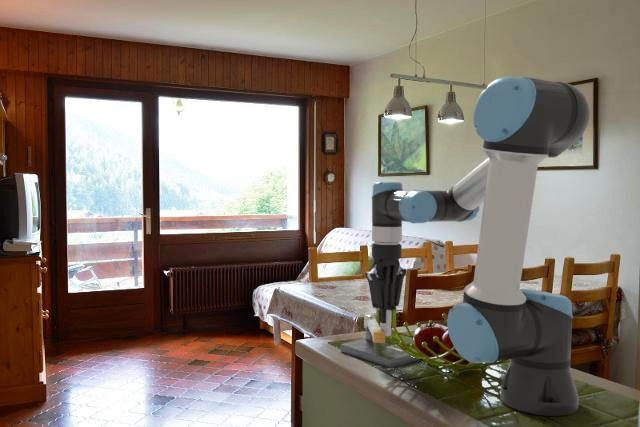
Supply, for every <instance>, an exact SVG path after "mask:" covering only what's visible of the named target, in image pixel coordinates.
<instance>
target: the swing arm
mask: <svg viewBox="0 0 640 427" xmlns="http://www.w3.org/2000/svg"><path fill="white" fill-rule="evenodd" d="M363 316H364V317H363V318H364V322H363V323H364V324H363V329H365V330H366V329H369V330H370V332H371V334H372V336H373V342H374V343H385V331H384V330H381V328H380V326H379V325H378V323H377V321H376V314H373V313H365V314H364V315H363Z"/></svg>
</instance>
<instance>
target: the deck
mask: <svg viewBox="0 0 640 427" xmlns="http://www.w3.org/2000/svg"><path fill="white" fill-rule="evenodd" d="M396 344H397V343H396ZM396 344H394V343H391V342H387V341H385V343H374V342H373V336H372V334H371V332H370V330H369V329H365V338H363V339H358V340H354V341H350V342H344V343H341V344H340V352H341V353H344V354H347V355H350V356H353V357H356V358H360V359H362V360H364V361H368V362H370V363H374V364H377V365H380V366H383V367H386V368H389V369H391V368H395V367H399V366H403V365H407V364H409V363H413V362H417V361H419V360H418V359H416V358H413V357H411V356H410V355H408V354H407V353H406V352H404V351H403V350H401V348H400V347H398V346H397V345H396Z"/></svg>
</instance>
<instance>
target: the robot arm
mask: <svg viewBox="0 0 640 427" xmlns="http://www.w3.org/2000/svg"><path fill="white" fill-rule="evenodd" d="M473 109H474V110H473V127H474V128H476V129H475V132H476V133H477V135H478V137H480V138H481V139H482V140H483V144H482V145H483V146H482V150H483V152H484V153H485V154H486V156H487V158H486V159H485V160H483V161H482V162H481V163H480V164H478V165H477V166H476V167H475V168H473V170H471V171H470V172H469V173H468V174H467V175H465V176H464V177H462V178H461V179H460V180H459V181H458V182H457V183H455V184H454V185H453V186H452V187H450V188H449V189H446V190H419V189H417V190H416V189H413V190H411V189H410V190H406V189H405V190H404V189H403V184H402V182H400V181H375V183H373V185H372V195H371V224H372V225H371V241H372V242H374V243H372V244H371V257H372V259H373V263H372V269H371V270H370V271H366V272H365V273H364V275H365V277H366V279H367V282H368V288H369V294H370V299H371V305H372V308H373V309H375V310H376V309H378V310H379V322H380V328H381V330H384V331H385V336H387V337H388V336H391V322H392V320H393V310H396V311H397V307H398V306H400V302H401V295H402V291H403V282H404V278H405V276H406V274H407V269H406V268H403V267H402V266H401V263H400V259H402V250H403V249H402V244H401V242H403V222H407V223H410V224H424V223H431V222H433V223H435V222H457V223H463V222H466V221H467V222H468V221H472V220H474V219H475V218H476V217H477V214H478V213H479V212H480V206H481V205H482V204H483V208H482V216H481V224H480V230H479V231H480V232H479V236H478V237H479V239H478V243H477V244H478V245H477V252H476V261H475V268H474V274H473V275H474V276H473V281H472V282H470V283H469V284H467V285H466V286H465V287H464V288H463V297H462V301H461V302H458V303H456V304H454V305H453V307H452V308H450V309H449V311H448V314H447V321H446V322H447V323H446V324H447V332H448V335H449V339H450V341H451V343H452V345H453V348H454V349H455V351H456V352H457V353H458V355H460V357H462V358H463V359H465V360H466V361H468V362H469V363H473V364H484V363H485V364H493V363H495V362H499V361H500V362H501V361H506V360H509V365H508V366H507V367H508V368H507V369H506V373H505V375H504V378H503V380H502V383H501V385H500V400H501V402H502V403H503V404H504V405H506V406H508V407H510V408H512V409H514V410H516V411H519V412H523V413H527V414H532V415H538V416H547V417H548V416H549V417H562V416H567V415H568V416H569V415H572V414H574V413H576V412H577V411H578V410H579V402H580V401H579V399H580V398H579V393H578V392H577V391H578V390H577V388H576V385H575V384H576V383H575V380H574V377H573V374H572V371H571V358H572V357H571V355H572V333H573V332H572V331H573V319H574V315H573V306H572V301H571V300H570V299H569V298H568V297H567V296H566V295H562V294H557V293H554V292H553V293H552V292H547V291H540V290H534V289H526V288H521V287H520V285H521V281H522V274H523V267H524V261H525V260H524V259H525V253H526V248H527V240H528V234H529V227H530V219H531V214H532V209H533V208H532V207H533V201H534V194H535V193H534V192H535V188H536V187H535V186H536V180H537V173H538V167H539V164H540V163H541V162H543V161H544V160H545V159H547V158H549V159H550V158H551V159H552V158H553V159H555V158H556V157H558V156H559V155H561V154H563V153H564V152H565V151H567V150H568V149H569V148H571V147H572V146H573V145H574V144H575V143H576V142H577V141H579V139H580V138H581V137H582V136H583V134H584V133H585V131H586V130H587V128H588V125H589V122H590V114H591V113H590V105H589V102H588V100H587V98H586V96H585V95H584V93H583V92H581V90H580V89H579V88H577V87H575V86H574V85H572V84H570V83H566V82H562V81H550V80H545V79H539V78H532V77H526V76H525V77H524V76H503V77H500V78H497V79H495V80H493V81H492V82H490V83H489V84H488V86H487V87H486V88H484V89H483V90H482V91H481V93H480V94H479V96H478V98H477V101H476V103H475V106H474V108H473ZM394 300H395V301H394ZM395 306H396V307H395Z"/></svg>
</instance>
